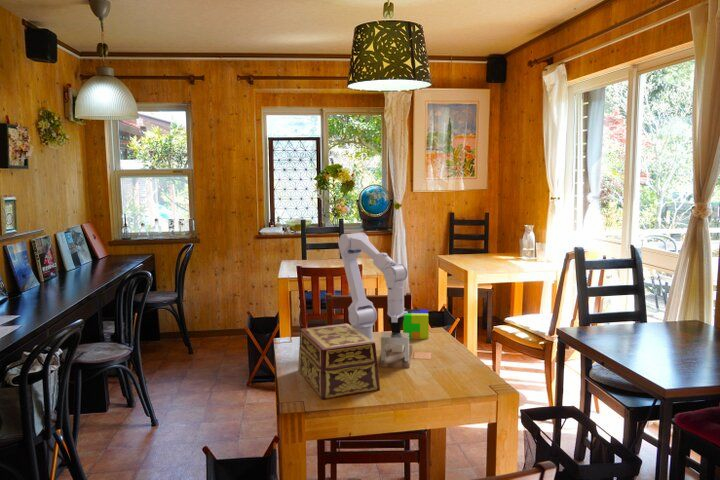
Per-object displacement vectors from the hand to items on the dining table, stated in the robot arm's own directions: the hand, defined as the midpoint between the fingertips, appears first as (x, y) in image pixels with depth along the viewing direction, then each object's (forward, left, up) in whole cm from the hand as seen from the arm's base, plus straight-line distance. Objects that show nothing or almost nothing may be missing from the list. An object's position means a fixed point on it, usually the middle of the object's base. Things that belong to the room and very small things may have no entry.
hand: (396, 337), depth 195 cm
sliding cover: (0, -4, -6) cm, 8 cm away
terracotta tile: (+9, +5, -8) cm, 13 cm away
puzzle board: (0, +2, -8) cm, 9 cm away
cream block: (0, +6, -8) cm, 10 cm away
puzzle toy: (+5, +31, -9) cm, 32 cm away
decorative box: (-18, -20, -9) cm, 28 cm away
